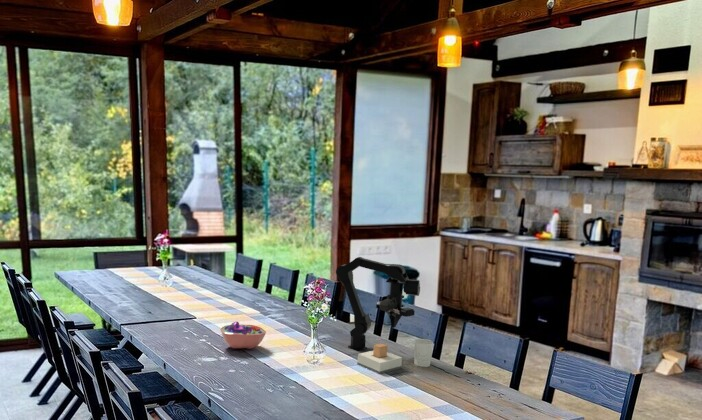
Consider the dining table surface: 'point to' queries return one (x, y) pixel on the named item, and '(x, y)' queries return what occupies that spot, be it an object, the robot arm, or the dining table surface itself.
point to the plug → (380, 351)
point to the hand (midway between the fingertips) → (393, 327)
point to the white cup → (422, 352)
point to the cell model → (242, 335)
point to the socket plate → (379, 362)
